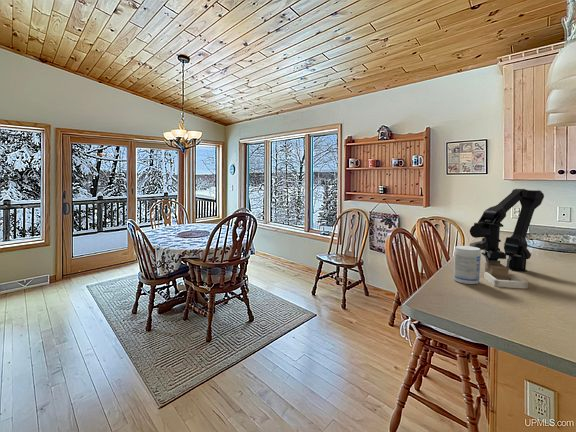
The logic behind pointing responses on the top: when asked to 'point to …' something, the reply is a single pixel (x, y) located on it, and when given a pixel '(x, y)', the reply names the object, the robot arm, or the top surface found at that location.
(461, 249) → the supplement tub
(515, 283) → the bay
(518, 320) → the top surface
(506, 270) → the block
